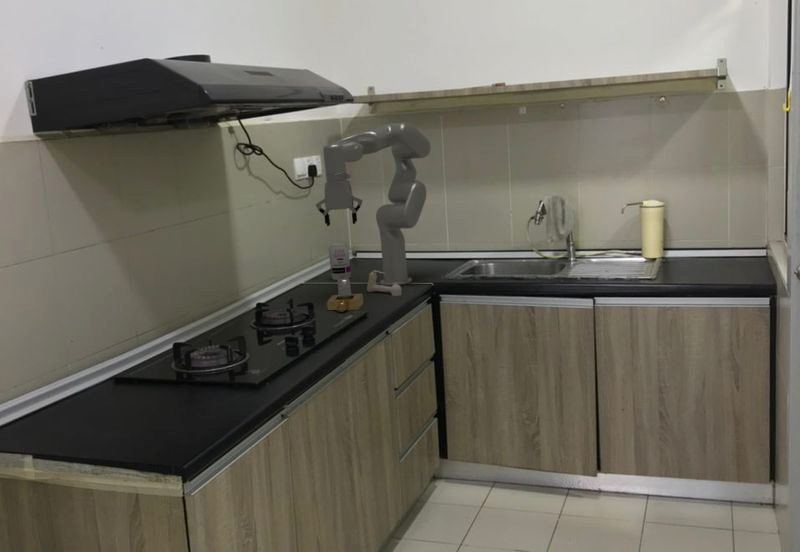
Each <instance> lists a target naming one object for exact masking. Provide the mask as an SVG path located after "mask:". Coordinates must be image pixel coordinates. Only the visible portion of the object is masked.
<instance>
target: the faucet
mask: <svg viewBox="0 0 800 552" xmlns="http://www.w3.org/2000/svg"><path fill="white" fill-rule="evenodd" d="M377 273H380V274H383V275H384V274H385V273H383V271H379V270H372V271H371V272H370V273H369V276H368V281H367V287H366V290H367V292H370V293H374V292H376V291H377V292H382V293H383V292H390V293H391V296H392V297H398V296H402V287H401V285H397V284H394V285H393V286H387V285H381V284H377V277H378V275H377Z"/></svg>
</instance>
